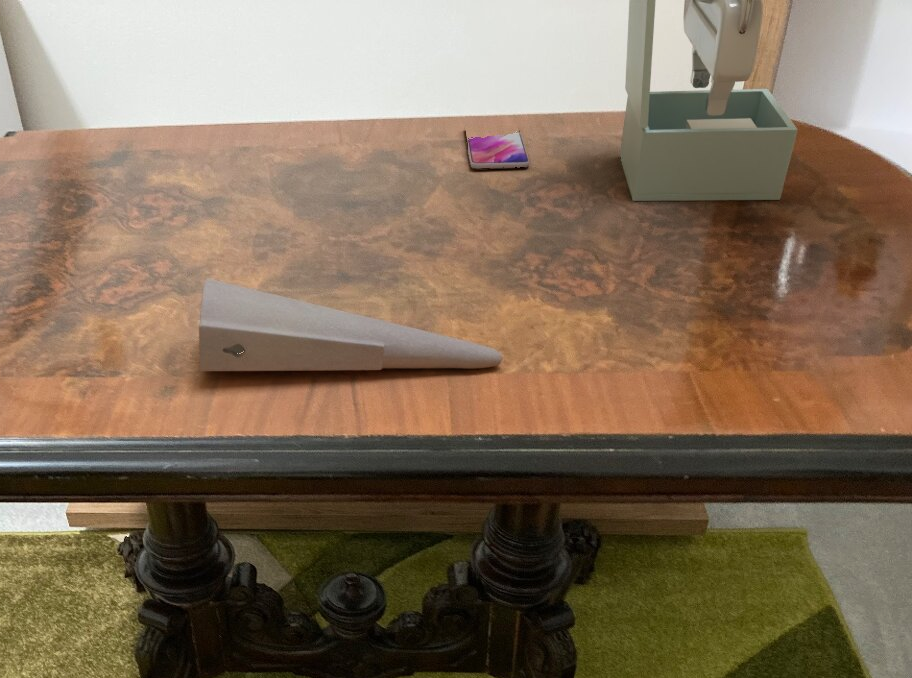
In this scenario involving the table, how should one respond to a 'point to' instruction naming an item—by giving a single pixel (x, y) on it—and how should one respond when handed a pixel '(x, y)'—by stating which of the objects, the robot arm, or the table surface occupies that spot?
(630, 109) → the shoebox
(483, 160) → the smartphone
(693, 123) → the stepped cream block
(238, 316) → the grey tapered spike
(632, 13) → the shoebox lid
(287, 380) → the table surface
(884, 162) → the table surface
